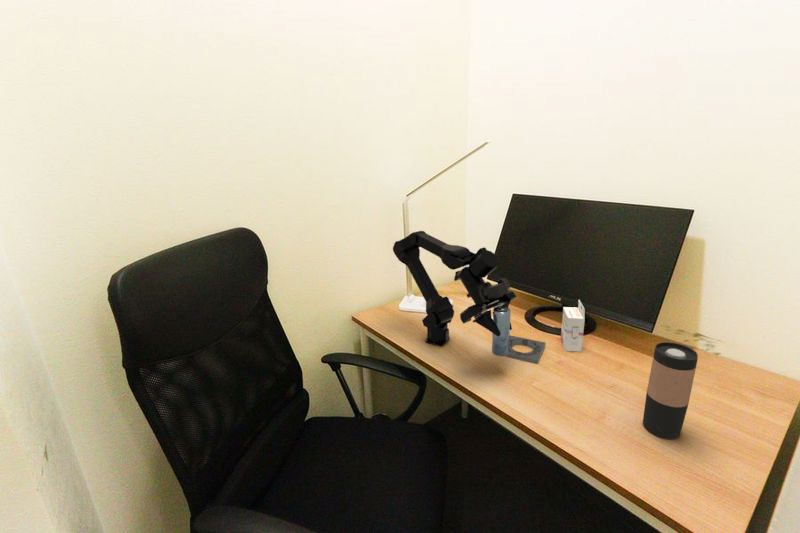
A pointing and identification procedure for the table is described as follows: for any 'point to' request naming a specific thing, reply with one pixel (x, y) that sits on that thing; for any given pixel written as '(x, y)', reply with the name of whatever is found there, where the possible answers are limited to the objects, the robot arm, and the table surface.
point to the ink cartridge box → (573, 327)
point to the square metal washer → (530, 356)
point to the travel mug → (669, 389)
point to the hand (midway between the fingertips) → (505, 332)
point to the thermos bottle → (501, 331)
